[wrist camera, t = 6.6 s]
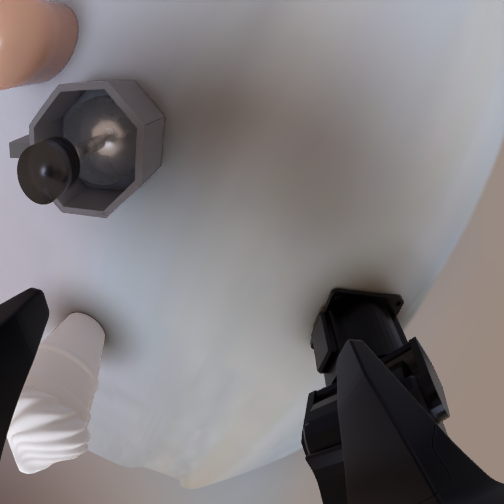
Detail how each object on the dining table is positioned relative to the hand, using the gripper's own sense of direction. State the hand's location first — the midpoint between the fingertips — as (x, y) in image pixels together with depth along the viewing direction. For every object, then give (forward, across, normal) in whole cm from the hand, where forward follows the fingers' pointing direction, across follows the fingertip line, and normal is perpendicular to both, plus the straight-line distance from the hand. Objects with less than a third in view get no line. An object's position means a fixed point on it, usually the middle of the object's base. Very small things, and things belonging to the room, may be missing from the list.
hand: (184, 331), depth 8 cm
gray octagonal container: (+13, +9, -2) cm, 16 cm away
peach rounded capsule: (+13, +14, -9) cm, 21 cm away
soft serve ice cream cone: (+13, +12, +16) cm, 24 cm away
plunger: (+12, +8, -2) cm, 14 cm away
